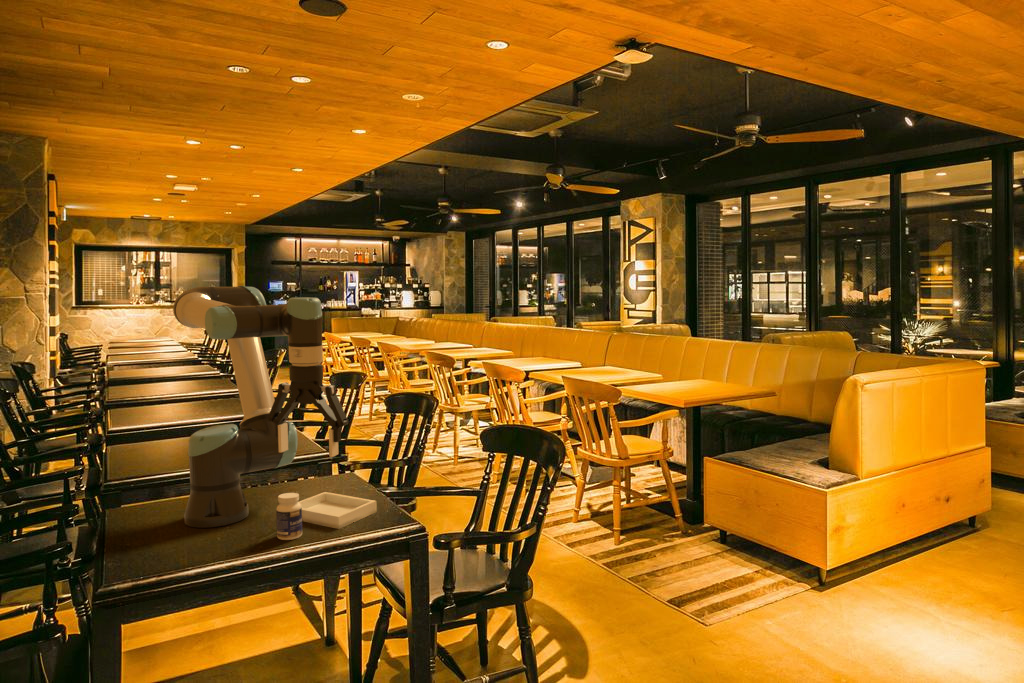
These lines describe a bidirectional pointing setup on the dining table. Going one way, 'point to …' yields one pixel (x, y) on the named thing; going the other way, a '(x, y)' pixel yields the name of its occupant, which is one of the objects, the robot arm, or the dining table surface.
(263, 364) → the robot arm
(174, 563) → the dining table surface
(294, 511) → the pill bottle
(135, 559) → the dining table surface
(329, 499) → the serving tray
